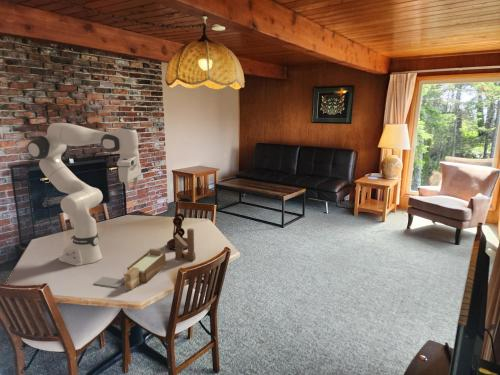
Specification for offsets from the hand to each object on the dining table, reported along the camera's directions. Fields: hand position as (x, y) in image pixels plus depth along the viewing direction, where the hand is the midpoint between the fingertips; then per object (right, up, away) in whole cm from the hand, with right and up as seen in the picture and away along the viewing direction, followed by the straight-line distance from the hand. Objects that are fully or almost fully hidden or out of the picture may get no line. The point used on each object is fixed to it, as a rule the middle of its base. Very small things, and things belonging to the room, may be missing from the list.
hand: (131, 187), depth 173 cm
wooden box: (+6, -44, +6) cm, 45 cm away
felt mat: (-9, -46, -5) cm, 47 cm away
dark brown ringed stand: (+16, -36, +40) cm, 56 cm away
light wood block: (+3, -47, -8) cm, 48 cm away
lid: (+6, -39, +5) cm, 40 cm away
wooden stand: (+23, -40, +22) cm, 51 cm away
